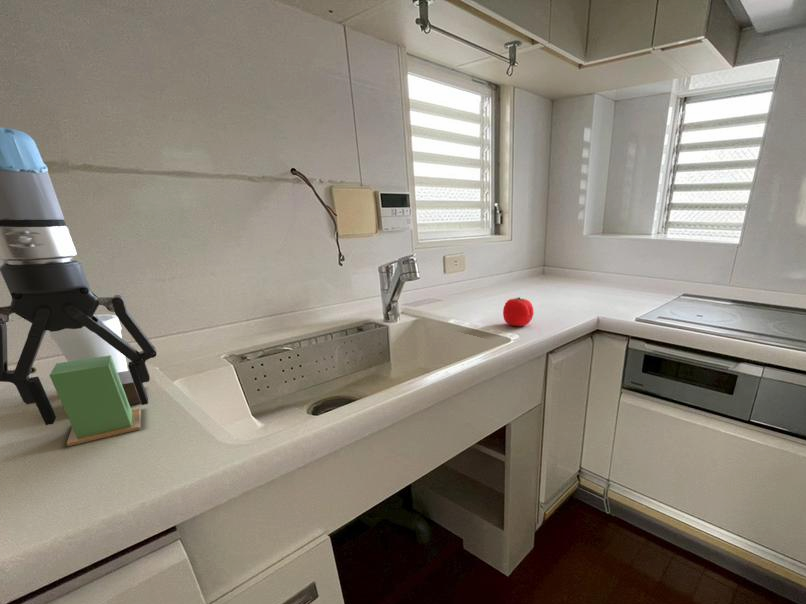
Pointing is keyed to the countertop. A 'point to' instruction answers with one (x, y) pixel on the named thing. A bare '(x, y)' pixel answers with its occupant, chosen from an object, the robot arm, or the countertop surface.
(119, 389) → the green block
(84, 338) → the foam cup
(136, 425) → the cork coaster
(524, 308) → the tomato
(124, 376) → the walnut base
